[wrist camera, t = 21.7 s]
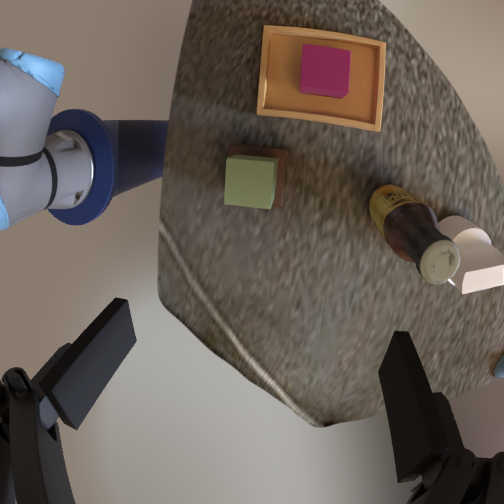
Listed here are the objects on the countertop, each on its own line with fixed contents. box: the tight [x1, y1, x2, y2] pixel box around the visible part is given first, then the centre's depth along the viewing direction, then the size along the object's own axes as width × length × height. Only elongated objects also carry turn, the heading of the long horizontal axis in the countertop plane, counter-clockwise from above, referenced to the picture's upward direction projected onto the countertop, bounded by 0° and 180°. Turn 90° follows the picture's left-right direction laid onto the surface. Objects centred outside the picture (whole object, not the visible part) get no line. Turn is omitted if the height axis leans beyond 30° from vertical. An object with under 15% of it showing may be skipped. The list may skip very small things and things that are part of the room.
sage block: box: [224, 155, 278, 209], centre depth 32 cm, size 5×5×5 cm
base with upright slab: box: [438, 216, 504, 294], centre depth 33 cm, size 9×9×12 cm
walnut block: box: [228, 144, 289, 208], centre depth 37 cm, size 7×7×5 cm
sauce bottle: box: [369, 185, 460, 284], centre depth 29 cm, size 7×6×20 cm
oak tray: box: [257, 25, 386, 132], centre depth 31 cm, size 16×13×3 cm
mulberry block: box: [300, 44, 351, 99], centre depth 29 cm, size 6×6×6 cm
